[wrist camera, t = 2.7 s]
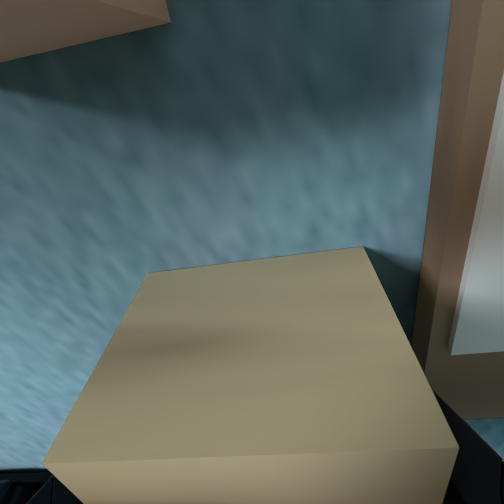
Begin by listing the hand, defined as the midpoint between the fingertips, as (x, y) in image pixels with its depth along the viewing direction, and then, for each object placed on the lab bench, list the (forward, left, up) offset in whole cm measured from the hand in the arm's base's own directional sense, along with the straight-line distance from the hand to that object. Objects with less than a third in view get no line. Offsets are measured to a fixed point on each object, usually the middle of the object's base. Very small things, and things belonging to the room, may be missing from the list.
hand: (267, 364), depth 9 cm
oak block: (0, 0, -1) cm, 1 cm away
